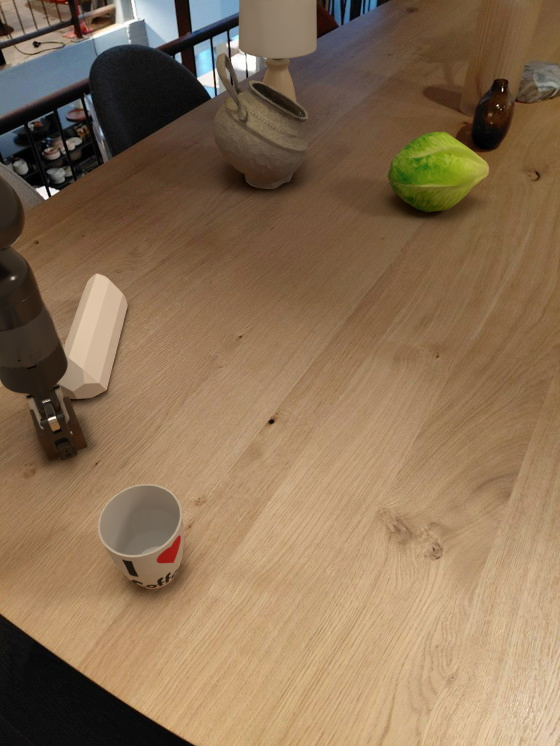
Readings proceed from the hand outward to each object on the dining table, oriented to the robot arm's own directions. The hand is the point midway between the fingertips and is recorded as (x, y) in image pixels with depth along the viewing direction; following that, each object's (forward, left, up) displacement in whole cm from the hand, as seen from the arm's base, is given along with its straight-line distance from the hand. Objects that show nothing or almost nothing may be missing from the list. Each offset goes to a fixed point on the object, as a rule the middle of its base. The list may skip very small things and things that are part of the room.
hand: (62, 436), depth 74 cm
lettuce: (+83, +27, -1) cm, 88 cm away
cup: (+5, -23, -1) cm, 23 cm away
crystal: (+8, +16, -1) cm, 18 cm away
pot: (+57, +55, -1) cm, 80 cm away
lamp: (+74, +78, -1) cm, 107 cm away
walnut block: (0, 0, -1) cm, 1 cm away
